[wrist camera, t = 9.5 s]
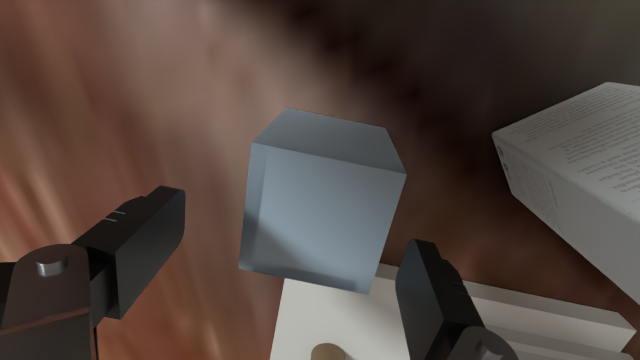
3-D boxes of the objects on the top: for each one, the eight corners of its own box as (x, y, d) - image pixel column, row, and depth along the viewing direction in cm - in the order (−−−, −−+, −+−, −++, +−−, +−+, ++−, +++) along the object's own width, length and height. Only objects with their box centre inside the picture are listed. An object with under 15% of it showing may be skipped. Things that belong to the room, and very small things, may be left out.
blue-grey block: (273, 196, 20) (238, 268, 14) (286, 107, 18) (251, 142, 11) (361, 214, 20) (368, 295, 14) (385, 127, 18) (406, 174, 11)
